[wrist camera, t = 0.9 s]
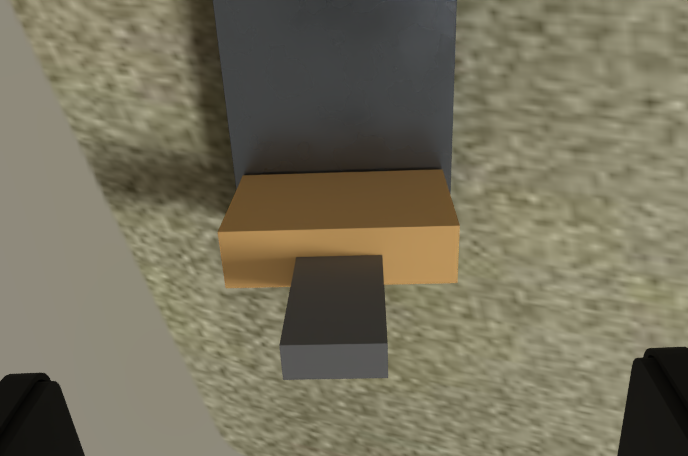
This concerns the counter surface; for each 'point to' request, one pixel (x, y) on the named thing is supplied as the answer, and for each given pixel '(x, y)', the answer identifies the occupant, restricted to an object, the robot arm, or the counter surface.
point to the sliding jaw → (339, 258)
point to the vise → (338, 84)
